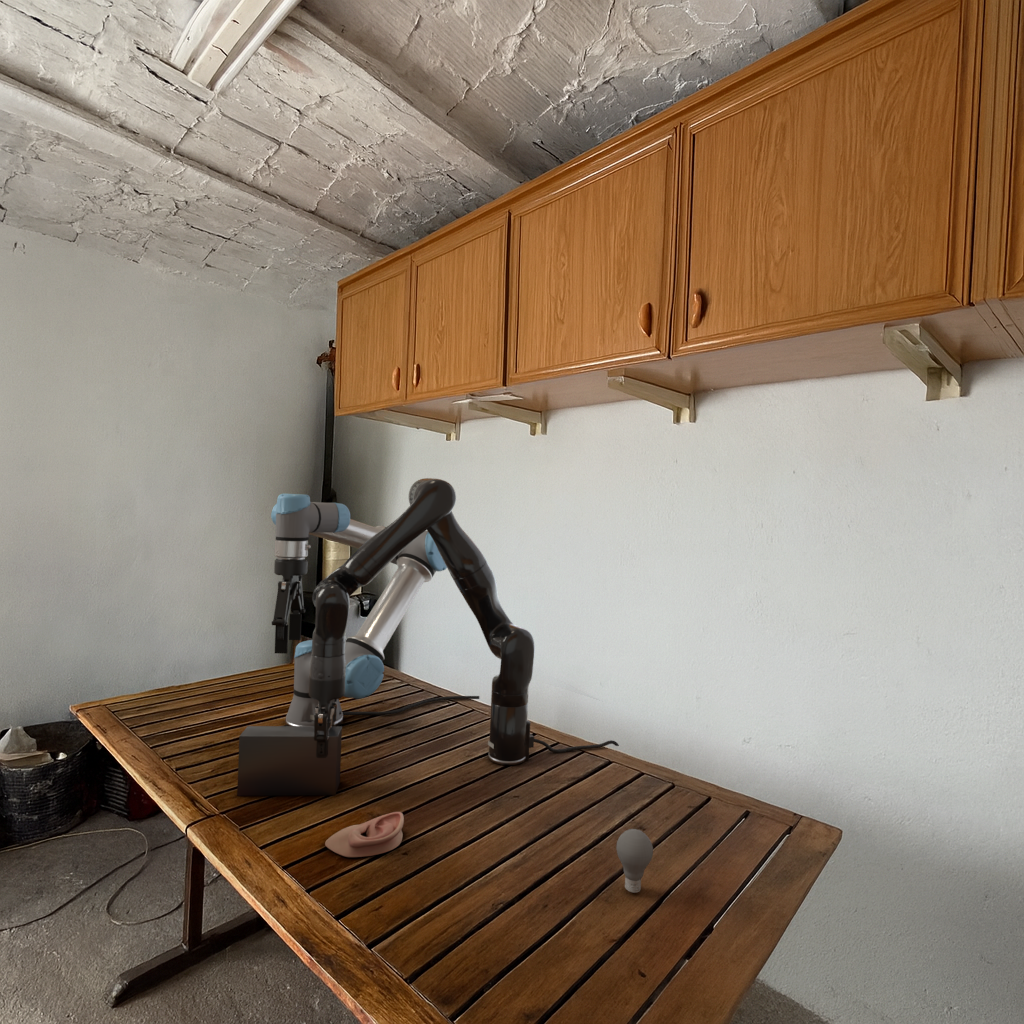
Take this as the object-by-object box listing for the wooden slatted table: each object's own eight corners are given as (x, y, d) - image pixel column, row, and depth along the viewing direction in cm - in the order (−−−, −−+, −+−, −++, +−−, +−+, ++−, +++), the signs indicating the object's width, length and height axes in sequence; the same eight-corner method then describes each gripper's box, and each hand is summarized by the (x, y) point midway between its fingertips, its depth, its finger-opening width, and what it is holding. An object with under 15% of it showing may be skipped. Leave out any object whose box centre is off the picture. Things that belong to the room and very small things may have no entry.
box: (237, 796, 132) (239, 736, 132) (245, 783, 138) (247, 725, 138) (335, 795, 135) (337, 736, 134) (339, 782, 141) (342, 726, 140)
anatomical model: (317, 830, 113) (346, 800, 124) (316, 852, 113) (345, 821, 124) (387, 841, 110) (410, 810, 121) (386, 864, 110) (410, 831, 121)
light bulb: (610, 879, 108) (613, 822, 108) (644, 879, 109) (647, 822, 109) (619, 902, 102) (622, 840, 102) (655, 901, 103) (658, 840, 103)
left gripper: (295, 564, 140) (292, 659, 140) (317, 553, 165) (314, 635, 165) (260, 563, 139) (256, 659, 139) (287, 552, 164) (284, 634, 164)
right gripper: (340, 684, 130) (336, 765, 130) (350, 665, 144) (347, 738, 145) (302, 683, 129) (299, 765, 130) (316, 665, 144) (313, 738, 144)
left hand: (288, 646), depth 152 cm, fingers open, 13 cm apart
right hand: (324, 751), depth 137 cm, fingers closed on box, 6 cm apart
